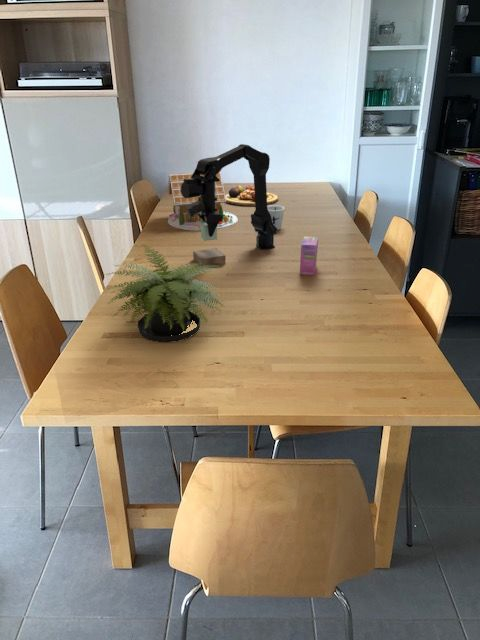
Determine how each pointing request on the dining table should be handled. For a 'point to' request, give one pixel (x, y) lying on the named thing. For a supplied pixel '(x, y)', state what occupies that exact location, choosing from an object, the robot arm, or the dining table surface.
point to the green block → (205, 232)
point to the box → (308, 255)
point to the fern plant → (166, 299)
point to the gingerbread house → (180, 213)
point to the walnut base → (209, 257)
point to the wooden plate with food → (246, 196)
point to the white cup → (276, 215)
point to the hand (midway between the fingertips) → (208, 234)
